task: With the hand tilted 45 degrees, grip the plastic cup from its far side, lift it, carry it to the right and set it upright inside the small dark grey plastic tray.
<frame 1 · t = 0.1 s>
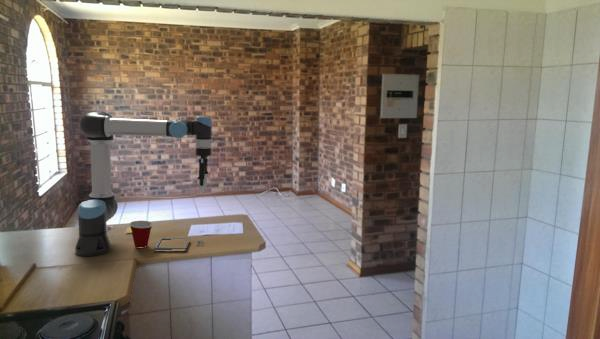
hand: (203, 189, 213), 28 cm above the worktop, tool pointing down, fingers open, 13 cm apart
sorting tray: (172, 246, 209), on the worktop
plastic cup: (141, 246, 207), on the worktop
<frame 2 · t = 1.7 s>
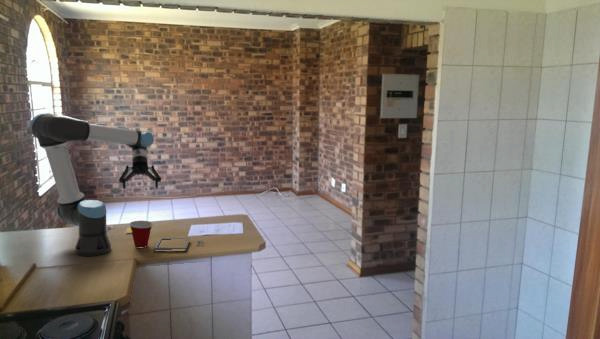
hand: (140, 193, 212), 25 cm above the worktop, tool tilted 45°, fingers open, 13 cm apart
nothing on the worktop moved.
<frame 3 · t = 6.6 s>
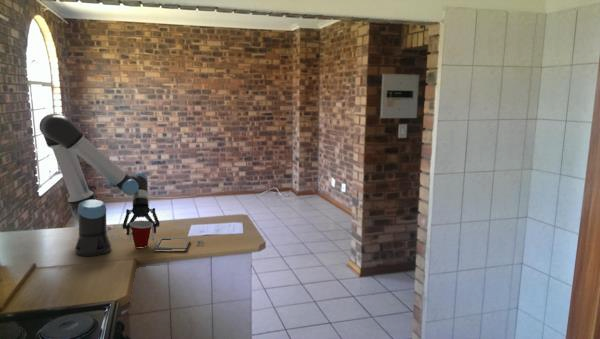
hand: (141, 239, 203), 4 cm above the worktop, tool tilted 45°, fingers closed on plastic cup, 10 cm apart
plastic cup: (141, 246, 207), on the worktop, touching gripper
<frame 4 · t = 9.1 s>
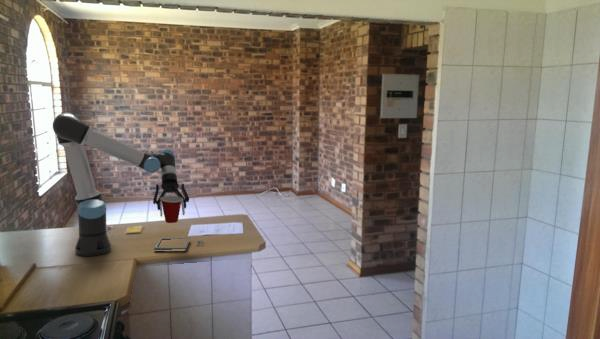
hand: (172, 214, 203), 17 cm above the worktop, tool tilted 45°, fingers closed on plastic cup, 10 cm apart
plastic cup: (172, 221, 207), point 13 cm above the worktop, touching gripper
when the fingers open (7 cm above the worktop, at t = 12.2 s): plastic cup moves 4 cm, resting on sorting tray.
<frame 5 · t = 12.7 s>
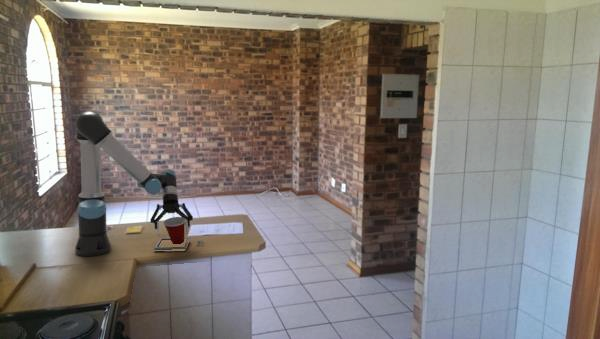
hand: (173, 233, 205), 7 cm above the worktop, tool tilted 45°, fingers open, 13 cm apart
plastic cup: (179, 242, 211), point 1 cm above the worktop, touching gripper, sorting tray
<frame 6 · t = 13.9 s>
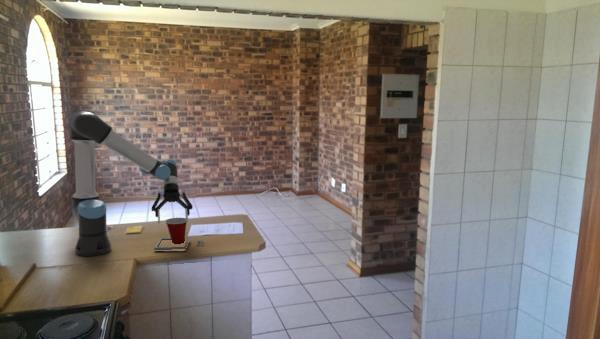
hand: (173, 221, 212), 11 cm above the worktop, tool tilted 45°, fingers open, 13 cm apart
plastic cup: (179, 243, 211), point 1 cm above the worktop, touching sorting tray
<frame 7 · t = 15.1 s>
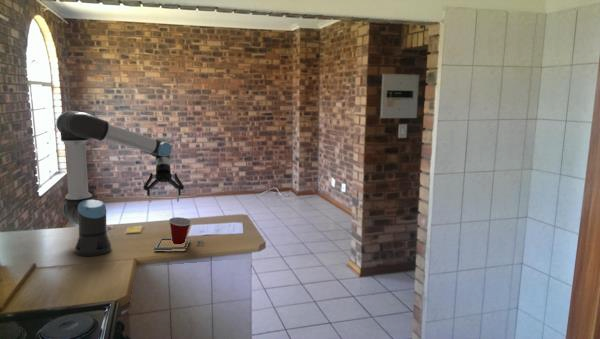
hand: (164, 200, 217), 20 cm above the worktop, tool tilted 45°, fingers open, 13 cm apart
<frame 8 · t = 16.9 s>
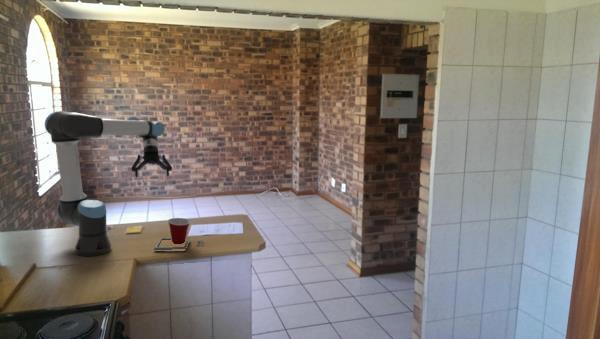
hand: (152, 181, 218), 30 cm above the worktop, tool tilted 45°, fingers open, 13 cm apart
nothing on the worktop moved.
at the end: plastic cup inside the target area on the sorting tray (3.8 cm from its centre), point 0.6 cm above the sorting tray's base; plastic cup tilted 0°; the gripper is holding nothing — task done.
